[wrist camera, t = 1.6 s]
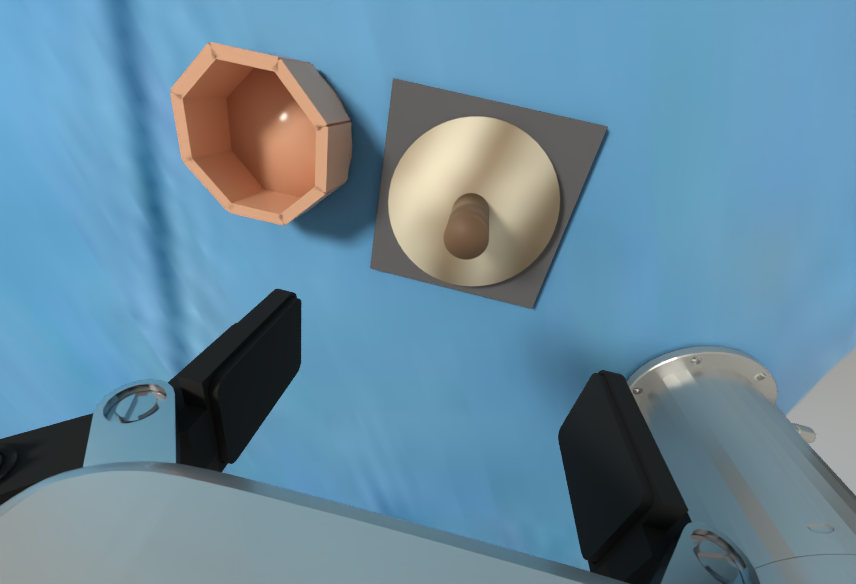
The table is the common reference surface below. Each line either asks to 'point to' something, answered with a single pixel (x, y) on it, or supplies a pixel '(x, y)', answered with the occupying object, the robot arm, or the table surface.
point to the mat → (429, 107)
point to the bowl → (261, 132)
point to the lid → (474, 201)
